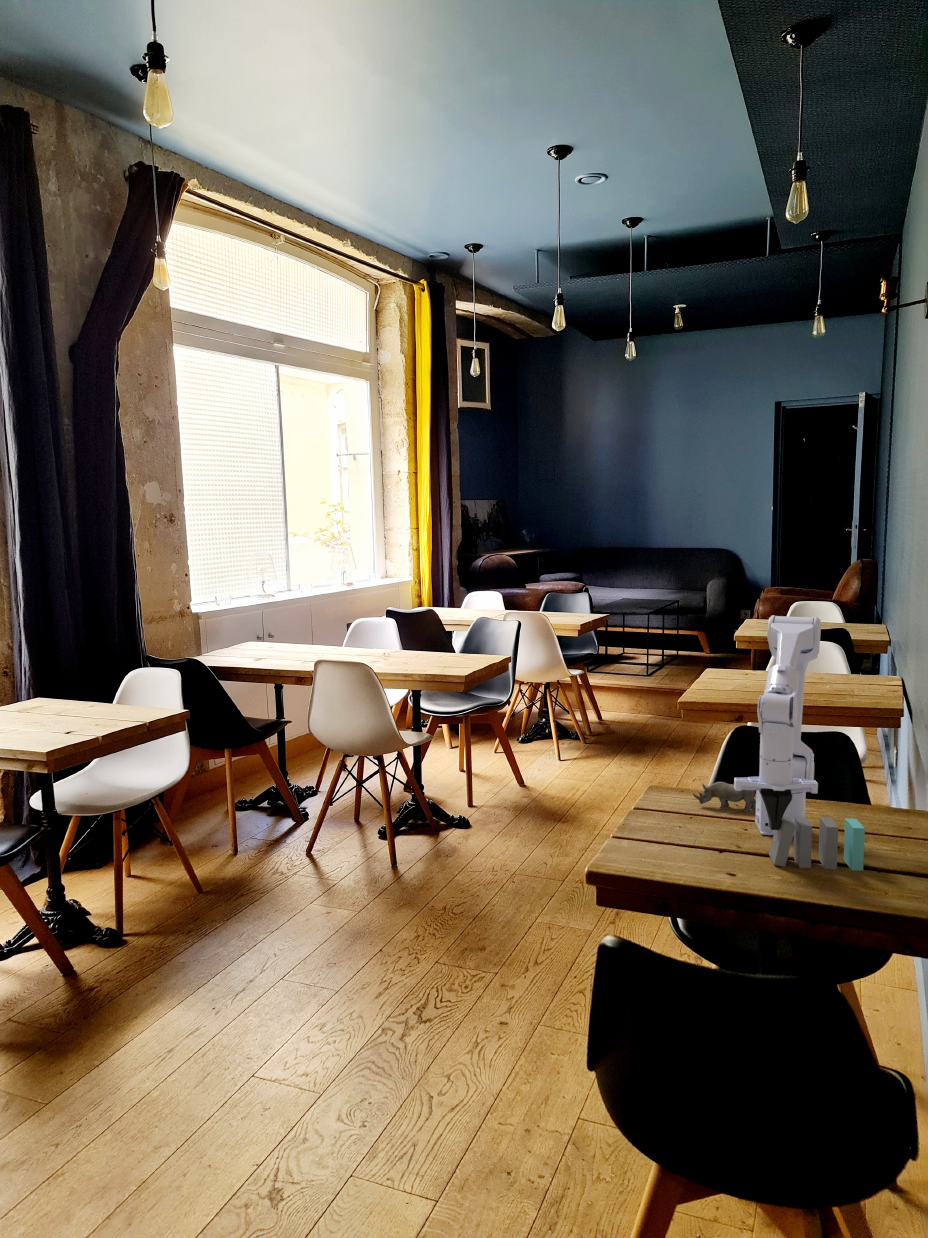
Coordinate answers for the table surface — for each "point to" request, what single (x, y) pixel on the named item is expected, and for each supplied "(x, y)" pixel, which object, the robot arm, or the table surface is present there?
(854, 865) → the teal domino
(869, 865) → the table surface
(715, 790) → the rhino figurine
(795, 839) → the gray domino
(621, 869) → the table surface
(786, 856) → the gray domino
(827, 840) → the grey domino block
